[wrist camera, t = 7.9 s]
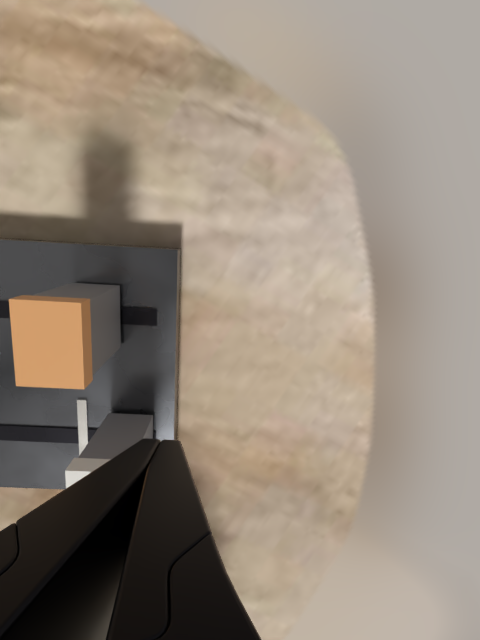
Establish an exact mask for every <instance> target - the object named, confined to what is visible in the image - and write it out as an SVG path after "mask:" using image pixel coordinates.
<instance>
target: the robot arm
mask: <svg viewBox="0 0 480 640" xmlns="http://www.w3.org/2000/svg"><path fill="white" fill-rule="evenodd" d="M0 640H261V638H260V636H259V634H258V632H257V631H256V629H255V627H254V625H253V623H252V621H251V619H250V617H249V616H248V614H247V612H246V610H245V608H244V606H243V604H242V602H241V601H240V599H239V597H238V595H237V593H236V591H235V589H234V587H233V584H232V582H231V580H230V578H229V576H228V574H227V572H226V570H225V567H224V564H223V562H222V559H221V557H220V554H219V552H218V549H217V546H216V543H215V540H214V537H213V535H212V532H211V529H210V526H209V523H208V520H207V518H206V515H205V512H204V509H203V506H202V503H201V500H200V497H199V494H198V491H197V488H196V485H195V482H194V479H193V477H192V474H191V471H190V468H189V465H188V462H187V459H186V456H185V453H184V450H183V447H182V444H181V442H180V441H179V440H166V439H165V440H162V441H161V440H159V439H149V438H144V439H141V440H140V441H138V442H137V443H135V444H134V445H132V446H131V447H129V448H128V449H126V450H124V451H123V452H121V453H120V454H118V455H117V456H115V457H114V458H112V459H111V460H109V461H108V462H106V463H105V464H103V465H102V466H100V467H98V468H97V469H95V470H94V471H92V472H91V473H89V474H88V475H86V476H85V477H83V478H82V479H80V480H79V481H77V482H76V483H74V484H72V485H71V486H69V487H68V488H66V489H65V490H63V491H62V492H60V493H59V494H57V495H56V496H54V497H53V498H51V499H50V500H48V501H46V502H45V503H43V504H42V505H40V506H39V507H37V508H36V509H34V510H33V511H31V512H30V513H28V514H27V515H25V516H23V517H22V518H20V519H19V520H17V522H16V524H15V523H13V524H11V525H10V526H8V527H6V528H5V529H3V530H2V531H0Z"/></svg>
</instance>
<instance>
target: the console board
mask: <svg viewBox="0 0 480 640" xmlns="http://www.w3.org/2000/svg"><path fill="white" fill-rule="evenodd" d="M180 267H181V249H176V248H159V247H142V246H125V245H107V244H90V243H73V242H56V241H38V240H21V239H4V238H0V487H17V488H43V489H66V479H65V470H66V469H67V467H68V466H69V464H70V463H71V461H72V460H73V459H74V458H78V457H79V456H80V454H81V453H82V451H83V450H84V448H85V447H86V445H87V444H88V442H89V441H90V439H91V438H92V437H93V435H94V434H95V432H96V431H97V429H98V428H99V426H100V425H101V423H102V422H103V421H104V419H105V418H106V416H107V415H108V413H118V414H140V415H153V439H159V440H161V441H162V440H165V439H166V440H177V404H178V358H179V312H180ZM69 283H84V284H102V285H120V332H121V347H120V348H119V349H118V350H117V351H116V352H115V353H114V354H113V355H112V356H111V357H110V358H109V359H108V360H107V361H106V362H105V363H104V364H103V365H102V366H101V367H100V368H99V370H98V371H97V372H96V373H95V374H94V375H93V381H92V382H91V383H90V384H89V385H88V386H87V387H86V388H85V389H64V388H43V387H21V386H16V381H15V369H14V357H13V345H12V333H11V321H10V309H9V299H11V298H14V297H17V296H21V295H31V296H32V295H35V294H38V293H41V292H44V291H47V290H50V289H54V288H57V287H60V286H63V285H66V284H69Z"/></svg>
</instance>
